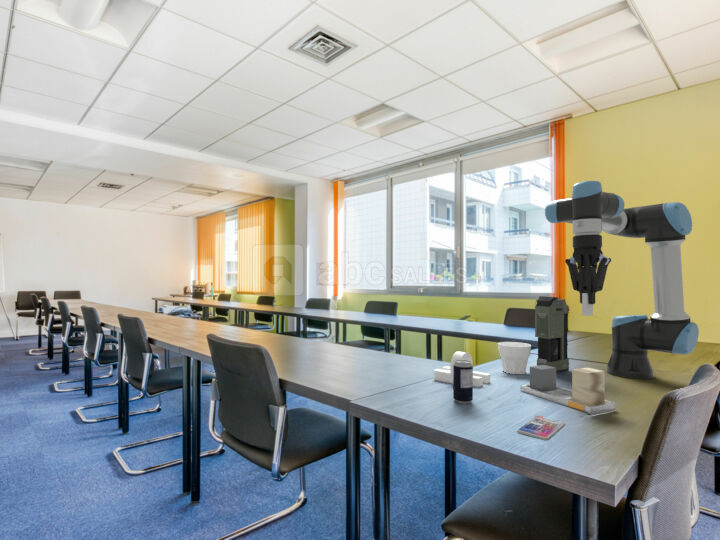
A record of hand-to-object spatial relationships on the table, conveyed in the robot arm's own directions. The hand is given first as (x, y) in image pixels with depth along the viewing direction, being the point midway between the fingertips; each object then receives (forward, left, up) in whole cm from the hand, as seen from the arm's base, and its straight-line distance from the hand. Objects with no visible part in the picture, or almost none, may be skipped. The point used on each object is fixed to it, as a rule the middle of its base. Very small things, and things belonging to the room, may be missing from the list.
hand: (587, 315), depth 119 cm
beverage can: (+30, -19, -27) cm, 45 cm away
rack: (+1, -7, -27) cm, 27 cm away
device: (-29, -36, -27) cm, 53 cm away
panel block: (+1, +1, -26) cm, 26 cm away
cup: (-14, -41, -27) cm, 50 cm away
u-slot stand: (+15, -38, -27) cm, 49 cm away
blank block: (+1, -14, -26) cm, 30 cm away
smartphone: (+26, +6, -27) cm, 38 cm away
